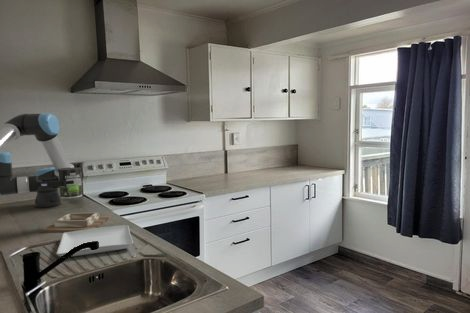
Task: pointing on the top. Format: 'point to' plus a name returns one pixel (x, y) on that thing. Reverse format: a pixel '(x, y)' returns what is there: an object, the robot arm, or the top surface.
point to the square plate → (105, 236)
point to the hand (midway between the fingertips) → (79, 179)
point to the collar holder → (76, 222)
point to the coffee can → (70, 190)
